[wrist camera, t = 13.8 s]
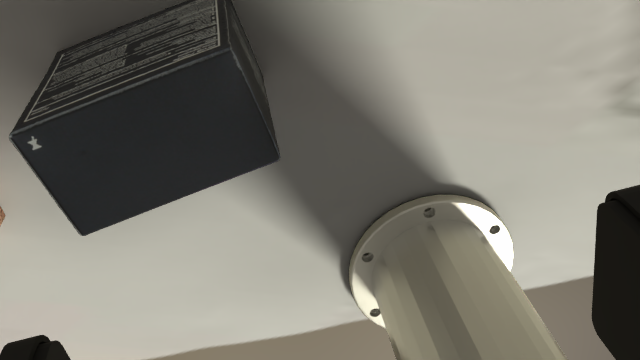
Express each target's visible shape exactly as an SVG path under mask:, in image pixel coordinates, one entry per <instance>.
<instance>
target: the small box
mask: <svg viewBox="0 0 640 360" xmlns="http://www.w3.org/2000/svg"><path fill="white" fill-rule="evenodd" d="M9 140H10V141H11V142H12V143H13V145H14V146H15V148H16V149H17V150H18V151H19V153H20V154H21V155H22V156H23V158H24V159H25V161H26V162H27V164H28V165H29V166H30V168H31V169H32V170H33V172H34V173H35V175H36V176H37V177H38V179H39V180H40V181H41V183H42V184H43V185H44V187H45V188H46V189H47V191H48V192H49V194H50V195H51V197H52V198H53V199H54V200H55V202H56V203H57V204H58V206H59V208H60V209H61V210H62V211H63V213H64V214H65V215H66V217H67V218H68V220H69V221H70V222H71V223H72V225H73V226H74V228H75V229H76V230H77V232H78V233H79V234H80V235H82V236H85V235H88V234H90V233H93V232H95V231H98V230H100V229H103V228H106V227H108V226H111V225H113V224H116V223H119V222H121V221H124V220H126V219H129V218H131V217H134V216H136V215H139V214H141V213H144V212H147V211H149V210H152V209H154V208H157V207H159V206H162V205H165V204H167V203H170V202H172V201H175V200H177V199H180V198H182V197H185V196H188V195H190V194H193V193H196V192H198V191H201V190H203V189H206V188H209V187H211V186H214V185H216V184H219V183H222V182H224V181H227V180H229V179H232V178H235V177H237V176H240V175H243V174H245V173H248V172H251V171H253V170H256V169H258V168H261V167H264V166H266V165H269V164H272V163H274V162H277V161H279V160H280V153H279V148H278V145H277V141H276V137H275V132H274V127H273V123H272V118H271V114H270V110H269V104H268V100H267V95H266V91H265V87H264V80H263V76H262V74H261V72H260V69H259V67H258V64H257V62H256V59H255V56H254V54H253V52H252V49H251V47H250V45H249V42H248V40H247V38H246V35H245V33H244V30H243V28H242V26H241V23H240V21H239V19H238V16H237V14H236V11H235V9H234V7H233V4H232V2H231V0H188V1H186V2H183V3H181V4H179V5H176V6H173V7H171V8H166V9H165V10H163V11H161V12H158V13H155V14H153V15H150V16H148V17H145V18H143V19H140V20H138V21H135V22H132V23H130V24H127V25H125V26H121V27H119V28H117V29H115V30H112V31H110V32H107V33H104V34H102V35H100V36H96V37H94V38H92V39H89V40H87V41H85V42H82V43H80V44H77V45H75V46H72V47H70V48H68V49H65V50H63V51H60V52H57V54H56V56H55V58H54V60H53V62H52V64H51V66H50V68H49V70H48V72H47V74H46V75H45V77H44V79H43V80H42V82H41V83H40V85H39V87H38V89H37V90H36V91H35V93H34V95H33V96H32V98H31V100H30V102H29V103H28V105H27V106H26V108H25V110H24V112H23V113H22V116H21V117H20V119H19V120H18V122H17V124H16V125H15V127H14V129H13V130H12V132H11V133H10V135H9Z"/></svg>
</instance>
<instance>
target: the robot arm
mask: <svg viewBox="0 0 640 360" xmlns="http://www.w3.org/2000/svg"><path fill="white" fill-rule="evenodd" d="M513 256H514V251H513V241H512V239H511V236H510V233H509V230H508V229H507V227H506V226H505V224H504V223H503V221H502V220H501V219H500V217H499V216H498V215H497V214H496V213H495V212H494V211H493V210H492V209H491V208H489V207H488V206H486V205H485V204H483V203H482V202H479V201H477V200H474V199H471V198H469V197H464V196H458V195H433V196H427V197H422V198H418V199H415V200H412V201H409V202H406V203H404V204H402V205H400V206H398V207H396V208H394V209H392V210H391V211H389V212H388V213H386V214H385V215H384V216H382V217H381V218H379V219H378V220H377V221H376V222H375V223H374V224H373V225H372V226H371V227H370V228H369V229H368V230H367V231H366V232H365V233H364V235H363V236H362V238H361V239H360V241H359V242H358V244H357V245H356V248H355V250H354V252H353V255H352V257H351V261H350V267H349V283H350V287H351V291H352V295H353V297H354V299H355V302H356V304H357V306H358V307H359V309H360V310H361V311H362V313H363V314H364V315H365V316H366V317H367V318H369V319H370V320H371V321H372V322H374V323H375V324H378V325H379V326H382V327H383V328H386V330H387V333H388V336H389V339H390V342H391V345H392V348H393V351H394V353H395V357H396V359H397V360H568V359H567V357H566V356H565V354H564V353H563V351H562V350H561V348H560V347H559V345H558V344H557V342H556V341H555V339H554V338H553V336H552V334H551V333H550V331H549V330H548V329H547V327H546V325H545V324H544V322H543V321H542V320H541V318H540V316H539V315H538V313H537V312H536V310H535V309H534V307H533V306H532V304H531V303H530V301H529V299H528V298H527V297H526V295H525V293H524V292H523V290H522V289H521V287H520V286H519V284H518V283H517V281H516V280H515V278H514V277H513V275H512V274H511V272H510V271H511V268H512V263H513ZM592 321H593V325H594V328H595V331H596V332H597V335H598V336H599V338H600V339H601V340H602V342H603V343H604V344H605V346H606V347H607V348H608V350H609V351H610V352H611V354H612V355H613V356H614V358H615V359H616V360H640V185H637V186H633V187H629V188H625V189H621V190H617V191H613V192H610V193H609V194H608V195H607V196H606V200H605V203H601V204H599V206H598V210H597V225H596V244H595V263H594V284H593V303H592ZM0 360H71V359H70V358H69V356H68V354H67V353H66V351H65V349H64V348H63V346H62V345H61V343H60V342H58V341H50V340H49V338H48V337H46V336H44V335H39V336H35V337H31V338H27V339H23V340H19V341H15V342H11V343H8V344H7V345H5V346H4V348H3V350H2V351H1V354H0Z"/></svg>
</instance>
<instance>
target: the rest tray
mask: <svg viewBox="0 0 640 360" xmlns="http://www.w3.org/2000/svg"><path fill="white" fill-rule="evenodd" d="M4 218H5V214H4V212H3V210H2V209H1V207H0V225H1V224H2V222H3V220H4Z"/></svg>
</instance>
